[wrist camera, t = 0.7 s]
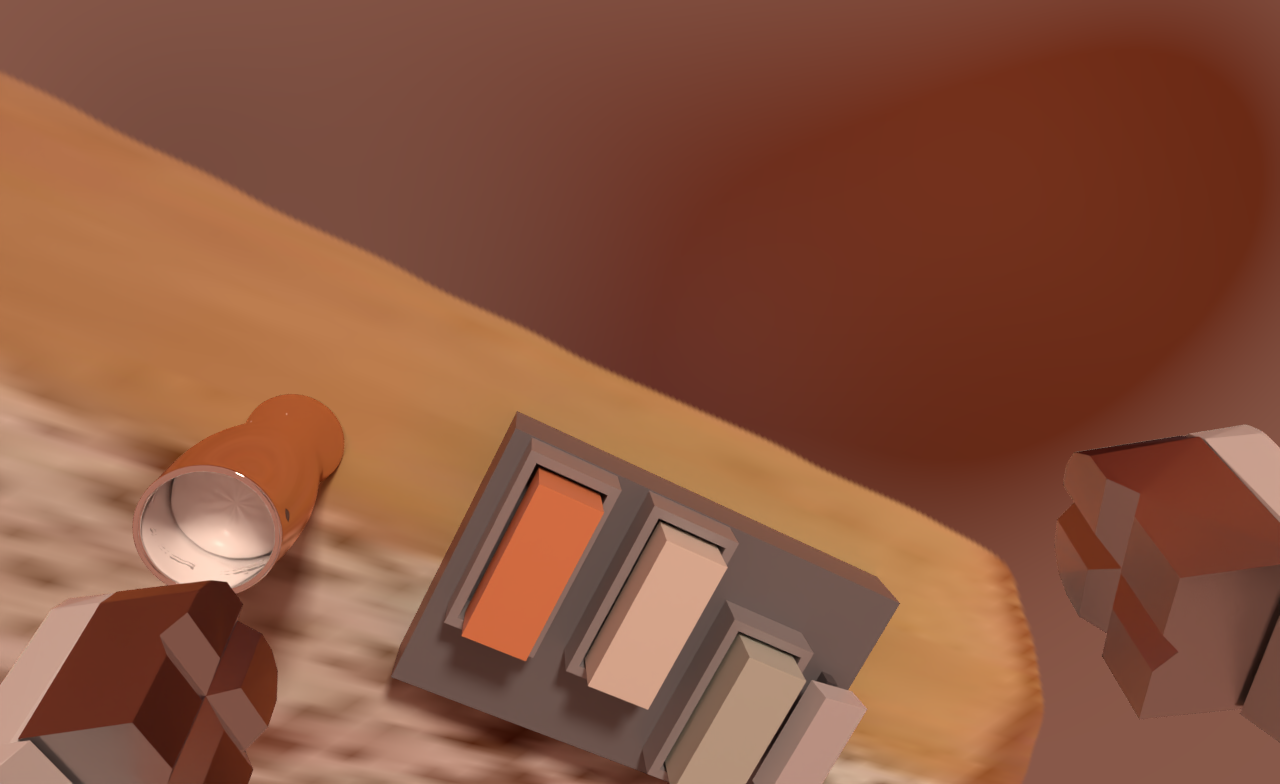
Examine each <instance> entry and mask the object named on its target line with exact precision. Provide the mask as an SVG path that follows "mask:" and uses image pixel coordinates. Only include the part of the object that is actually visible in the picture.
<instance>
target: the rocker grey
mask: <svg viewBox="0 0 1280 784" xmlns="http://www.w3.org/2000/svg"><path fill="white" fill-rule="evenodd" d="M866 710H867V708H866V707H865V706H864V705H863V704H862V703H861V701H860V700H859V699H858V698H857V697H856V696H855V694H854V693H853V692H852V691H849V690H845V689H842V688H838V687H834V686H831V685H827V684H824V683H820V682H817V681H813V680H811V682H810V684H809V685H808V687H807V689H806V690H805V692H804V694H803V695H802V697H801V699H800V701H799V702H798V704H797V706H796V707H795V709H794V711H793V712H792V714H791V716H790V717H789V719H788V721H787V723H786V724H785V726H784V728H783V729H782V731H781V733H780V734H779V736H778V738H777V739H776V741H775V743H774V745H773V746H772V748H771V750H770V751H769V753H768V755H767V756H766V758H765V760H764V761H763V763H762V765H761V767H760V768H759V770H758V772H757V773H756V775H755V777H754V778H753V780H752V781H753V782H754V784H822V783H823V781H824V780H825V778H826V776H827V775H828V773H829V771H830V770H831V768H832V766H833V765H834V763H835V761H836V760H837V758H838V757H839V755H840V753H841V752H842V750H843V748H844V747H845V745H846V743H847V742H848V740H849V738H850V737H851V735H852V733H853V732H854V730H855V729H856V727H857V725H858V724H859V722H860V720H861V719H862V717H863V715H864V714H865V712H866Z"/></svg>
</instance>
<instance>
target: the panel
mask: <svg viewBox="0 0 1280 784" xmlns="http://www.w3.org/2000/svg"><path fill="white" fill-rule="evenodd" d="M539 467H541V468H543V469H545V470H547V471H550V472H552V473H554V474H556V475H559V476H561V477H563V478H565V479H567V480H570V481H572V482H574V483H576V484H579V485H581V486H583V487H585V488H587V489H590V490H592V491H594V492H596V493H599V494H600V495H601V500H602V505H603V510H604V514H603V516H602V518H601V520H600V522H599V523H598V525H597V527H596V529H595V531H594V533H593V535H592V537H591V539H590V540H589V542H588V544H587V546H586V548H585V550H584V552H583V554H582V556H581V558H580V559H579V561H578V563H577V565H576V567H575V569H574V571H573V573H572V575H571V576H570V578H569V580H568V582H567V584H566V586H565V588H564V590H563V592H562V594H561V595H560V597H559V599H558V601H557V603H556V605H555V607H554V609H553V611H552V612H551V614H550V616H549V618H548V620H547V622H546V624H545V626H544V628H543V630H542V631H541V633H540V635H539V637H538V639H537V641H536V643H535V645H534V647H533V648H532V650H531V652H530V654H529V656H528V658H527V660H526V661H524V660H521V659H518V658H516V657H513V656H511V655H508V654H506V653H503V652H501V651H498V650H496V649H493V648H491V647H488V646H486V645H483V644H481V643H478V642H476V641H473V640H470V639H468V638H465V637H463V636H461V635H462V629H463V623H464V617H465V611H466V609H467V607H468V605H469V603H470V601H471V599H472V597H473V595H474V593H475V591H476V589H477V587H478V585H479V583H480V581H481V579H482V578H483V576H484V574H485V572H486V570H487V568H488V566H489V564H490V562H491V560H492V558H493V556H494V554H495V552H496V550H497V548H498V546H499V544H500V542H501V540H502V538H503V536H504V534H505V532H506V530H507V528H508V526H509V525H510V523H511V521H512V519H513V517H514V515H515V513H516V511H517V509H518V507H519V505H520V503H521V501H522V499H523V497H524V495H525V493H526V491H527V489H528V487H529V485H530V483H531V481H532V479H533V477H534V475H535V473H536V472H537V470H538V468H539ZM659 521H661V522H663V523H665V524H668V525H670V526H672V527H674V528H677V529H679V530H681V531H683V532H686V533H688V534H690V535H692V536H694V537H697V538H699V539H701V540H703V541H706V542H708V543H710V544H712V545H715V546H717V548H718V549H719V551H720V553H721V555H722V557H723V559H724V561H725V563H726V565H727V567H728V568H727V570H726V571H725V573H724V575H723V577H722V578H721V580H720V582H719V584H718V586H717V587H716V589H715V591H714V593H713V595H712V596H711V598H710V600H709V602H708V603H707V605H706V607H705V609H704V611H703V612H702V614H701V616H700V618H699V620H698V621H697V623H696V625H695V627H694V629H693V630H692V632H691V634H690V636H689V637H688V639H687V641H686V643H685V645H684V646H683V648H682V650H681V652H680V654H679V655H678V657H677V659H676V661H675V662H674V664H673V666H672V668H671V670H670V671H669V673H668V675H667V677H666V679H665V680H664V682H663V684H662V686H661V687H660V689H659V691H658V693H657V695H656V696H655V698H654V700H653V702H652V704H651V705H650V707H649V709H648V710H647V709H645V708H642V707H640V706H637V705H635V704H632V703H630V702H627V701H625V700H622V699H620V698H617V697H615V696H612V695H609V694H607V693H604V692H602V691H599V690H597V689H594V688H592V687H589V686H588V683H587V673H586V664H585V658H586V656H587V654H588V652H589V651H590V649H591V647H592V645H593V643H594V641H595V639H596V638H597V636H598V634H599V632H600V630H601V628H602V626H603V625H604V623H605V621H606V619H607V617H608V615H609V614H610V612H611V610H612V608H613V606H614V604H615V602H616V601H617V599H618V597H619V595H620V593H621V591H622V589H623V588H624V586H625V584H626V582H627V580H628V578H629V576H630V575H631V573H632V571H633V569H634V567H635V565H636V564H637V562H638V560H639V558H640V556H641V554H642V552H643V551H644V549H645V547H646V545H647V543H648V541H649V539H650V538H651V536H652V534H653V532H654V530H655V528H656V527H657V525H658V523H659ZM899 604H900V603H899V602H898V601H897V599H896V598H895V597H894V596H893V595H892V594H891V593H890V591H889V590H888V589H887V588H886V587H885V586H884V584H883V583H882V582H881V581H880V580H879V579H878V578H877V577H876V576H874V575H871V574H869V573H867V572H865V571H863V570H861V569H858V568H856V567H854V566H852V565H850V564H848V563H845V562H843V561H841V560H839V559H837V558H835V557H832V556H830V555H828V554H826V553H824V552H822V551H819V550H817V549H815V548H813V547H811V546H808V545H806V544H804V543H802V542H800V541H798V540H795V539H793V538H791V537H789V536H787V535H785V534H782V533H780V532H778V531H776V530H774V529H772V528H769V527H767V526H765V525H763V524H761V523H759V522H756V521H754V520H752V519H750V518H748V517H746V516H743V515H741V514H739V513H737V512H735V511H732V510H730V509H728V508H726V507H724V506H722V505H719V504H717V503H715V502H713V501H711V500H709V499H706V498H704V497H702V496H700V495H698V494H696V493H693V492H691V491H689V490H687V489H685V488H683V487H680V486H678V485H676V484H674V483H672V482H670V481H667V480H665V479H663V478H661V477H659V476H656V475H654V474H652V473H650V472H648V471H646V470H643V469H641V468H639V467H637V466H635V465H633V464H630V463H628V462H626V461H624V460H622V459H620V458H617V457H615V456H613V455H611V454H609V453H607V452H604V451H602V450H600V449H598V448H596V447H594V446H591V445H589V444H587V443H585V442H583V441H581V440H578V439H576V438H574V437H572V436H570V435H567V434H565V433H563V432H561V431H559V430H557V429H554V428H552V427H550V426H548V425H546V424H544V423H541V422H539V421H537V420H535V419H533V418H531V417H528V416H526V415H524V414H522V413H520V412H518V411H517V413H516V415H515V417H514V419H513V421H512V423H511V425H510V427H509V429H508V431H507V433H506V435H505V437H504V439H503V441H502V443H501V445H500V447H499V449H498V451H497V453H496V455H495V457H494V459H493V461H492V463H491V465H490V467H489V469H488V471H487V473H486V475H485V477H484V479H483V481H482V483H481V485H480V487H479V489H478V491H477V493H476V495H475V497H474V499H473V501H472V503H471V505H470V507H469V509H468V511H467V513H466V515H465V517H464V519H463V521H462V523H461V525H460V527H459V529H458V531H457V533H456V535H455V537H454V539H453V541H452V543H451V545H450V547H449V549H448V551H447V553H446V555H445V557H444V559H443V561H442V563H441V565H440V567H439V569H438V571H437V573H436V575H435V577H434V579H433V581H432V583H431V585H430V587H429V589H428V591H427V593H426V595H425V597H424V599H423V601H422V603H421V605H420V607H419V609H418V611H417V613H416V615H415V617H414V619H413V621H412V623H411V625H410V627H409V629H408V631H407V633H406V635H405V637H404V639H403V641H402V643H401V645H400V649H399V652H398V655H397V659H396V662H395V666H394V669H393V672H392V676H391V677H392V678H395V679H398V680H400V681H403V682H405V683H408V684H411V685H413V686H416V687H419V688H421V689H424V690H427V691H429V692H432V693H435V694H437V695H440V696H443V697H445V698H448V699H450V700H453V701H456V702H458V703H461V704H464V705H466V706H469V707H472V708H474V709H477V710H480V711H482V712H485V713H487V714H490V715H493V716H495V717H498V718H501V719H503V720H506V721H509V722H511V723H514V724H517V725H519V726H522V727H525V728H527V729H530V730H532V731H535V732H538V733H540V734H543V735H546V736H548V737H551V738H554V739H556V740H559V741H562V742H564V743H567V744H569V745H572V746H575V747H577V748H580V749H583V750H585V751H588V752H591V753H593V754H596V755H599V756H601V757H604V758H606V759H609V760H612V761H614V762H617V763H620V764H622V765H625V766H628V767H630V768H633V769H636V770H638V771H641V772H644V773H646V774H648V775H651V776H654V777H656V778H659V779H662V780H664V781H667V782H669V778H668V774H667V769H666V765H665V760H666V758H667V756H668V755H669V753H670V751H671V749H672V748H673V746H674V744H675V742H676V741H677V739H678V737H679V735H680V734H681V732H682V730H683V728H684V727H685V725H686V723H687V721H688V720H689V718H690V716H691V714H692V713H693V711H694V709H695V707H696V706H697V704H698V702H699V700H700V699H701V697H702V695H703V693H704V692H705V690H706V688H707V686H708V684H709V683H710V681H711V679H712V677H713V676H714V674H715V672H716V670H717V669H718V667H719V665H720V663H721V662H722V660H723V658H724V656H725V655H726V653H727V651H728V649H729V648H730V646H731V644H732V642H733V641H734V639H735V637H736V635H737V634H738V632H739V633H741V634H744V635H746V636H748V637H751V638H753V639H755V640H758V641H760V642H762V643H765V644H767V645H769V646H772V647H774V648H776V649H779V650H781V651H783V652H786V653H788V654H790V655H792V656H793V658H794V660H795V661H796V663H797V665H798V667H799V669H800V670H801V672H802V674H803V676H804V678H805V680H806V683H805V684H804V686H803V688H802V690H801V691H800V693H799V695H798V696H797V698H796V700H795V701H794V703H793V705H792V706H791V708H790V710H789V712H788V713H787V715H786V717H785V718H784V720H783V722H782V723H781V725H780V727H779V728H778V730H777V732H776V734H775V735H774V737H773V739H772V740H771V742H770V744H769V745H768V747H767V749H766V751H765V752H764V754H763V756H762V757H761V759H760V761H759V762H758V764H757V766H756V767H755V769H754V771H753V773H752V774H751V776H750V778H749V779H748V781H747V783H746V784H754V782H753V781H752V780H753V778H754V777H755V775H756V773H757V772H758V770H759V768H760V767H761V765H762V763H763V761H764V760H765V758H766V756H767V755H768V753H769V751H770V750H771V748H772V746H773V745H774V743H775V741H776V739H777V738H778V736H779V734H780V733H781V731H782V729H783V728H784V726H785V724H786V723H787V721H788V719H789V717H790V716H791V714H792V712H793V711H794V709H795V707H796V706H797V704H798V702H799V701H800V699H801V697H802V695H803V694H804V692H805V690H806V689H807V687H808V685H809V684H810V682H811V680H813V681H817V682H820V683H824V684H827V685H831V686H834V687H838V688H842V689H845V690H848V689H849V687H850V686H851V684H852V682H853V681H854V679H855V677H856V676H857V674H858V672H859V671H860V669H861V667H862V666H863V664H864V662H865V661H866V659H867V657H868V656H869V654H870V652H871V651H872V649H873V647H874V646H875V644H876V642H877V641H878V639H879V637H880V636H881V634H882V632H883V631H884V629H885V627H886V626H887V624H888V622H889V621H890V619H891V617H892V616H893V614H894V612H895V611H896V609H897V607H898V606H899Z"/></svg>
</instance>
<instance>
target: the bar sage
mask: <svg viewBox="0 0 1280 784" xmlns="http://www.w3.org/2000/svg"><path fill="white" fill-rule="evenodd" d="M805 683H806V680H805V678H804V676H803V674H802V672H801V670H800V669H799V667H798V665H797V663H796V661H795V660H794V658H793V656H792V655H790V654H788V653H786V652H783V651H781V650H779V649H776V648H774V647H772V646H769V645H767V644H765V643H762V642H760V641H758V640H755V639H753V638H751V637H748V636H746V635H744V634H741V633H739V632H738V634H737V635H736V637H735V639H734V641H733V642H732V644H731V646H730V648H729V649H728V651H727V653H726V655H725V656H724V658H723V660H722V662H721V663H720V665H719V667H718V669H717V670H716V672H715V674H714V676H713V677H712V679H711V681H710V683H709V684H708V686H707V688H706V690H705V692H704V693H703V695H702V697H701V699H700V700H699V702H698V704H697V706H696V707H695V709H694V711H693V713H692V714H691V716H690V718H689V720H688V721H687V723H686V725H685V727H684V728H683V730H682V732H681V734H680V735H679V737H678V739H677V741H676V742H675V744H674V746H673V748H672V749H671V751H670V753H669V755H668V756H667V758H666V760H665V765H666V769H667V774H668V778H669V783H670V784H746V783H747V781H748V779H749V778H750V776H751V774H752V773H753V771H754V769H755V767H756V766H757V764H758V762H759V761H760V759H761V757H762V756H763V754H764V752H765V751H766V749H767V747H768V745H769V744H770V742H771V740H772V739H773V737H774V735H775V734H776V732H777V730H778V728H779V727H780V725H781V723H782V722H783V720H784V718H785V717H786V715H787V713H788V712H789V710H790V708H791V706H792V705H793V703H794V701H795V700H796V698H797V696H798V695H799V693H800V691H801V690H802V688H803V686H804V684H805Z"/></svg>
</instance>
